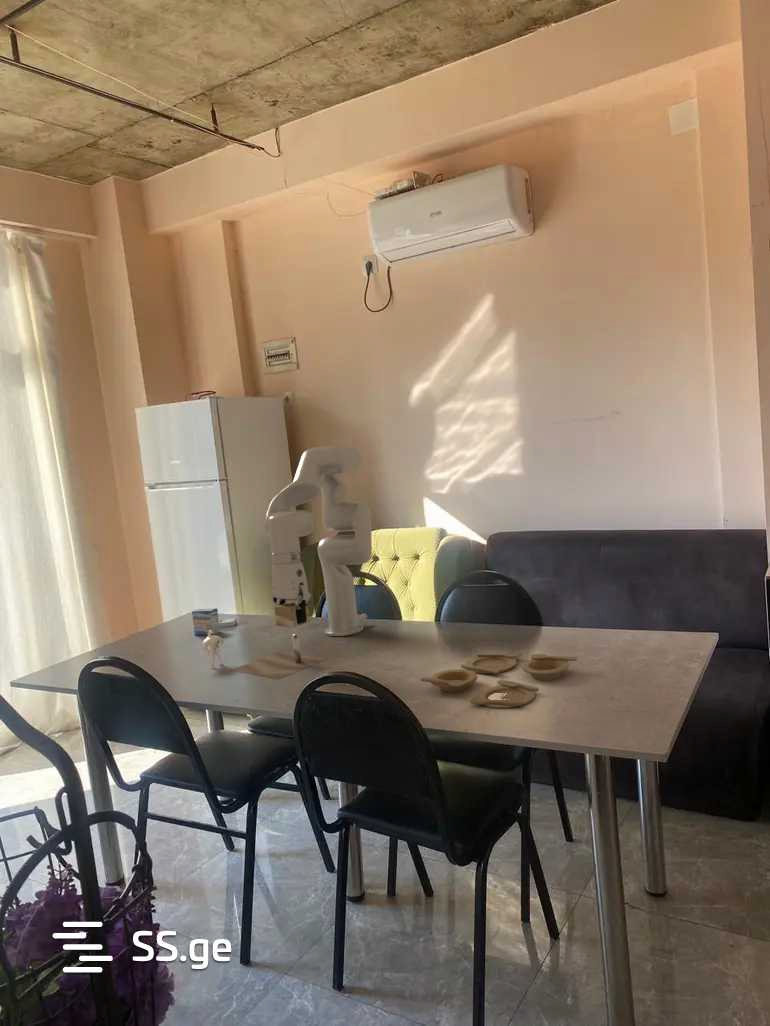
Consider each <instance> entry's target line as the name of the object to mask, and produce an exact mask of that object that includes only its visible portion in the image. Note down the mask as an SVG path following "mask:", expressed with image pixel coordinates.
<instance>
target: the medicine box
mask: <svg viewBox="0 0 770 1026" xmlns="http://www.w3.org/2000/svg"><path fill="white" fill-rule="evenodd" d="M191 616H192V625H193V633H194V635H195V636H208V632H209V630H212V631H213V633H214V635H215V636H216V635H218V633H220V632H221V627H220V626H221V625H220V620H219V619H220V618H219V611H218V608H197V609H194V610H192V611H191Z"/></svg>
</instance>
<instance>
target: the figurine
mask: <svg viewBox="0 0 770 1026" xmlns="http://www.w3.org/2000/svg"><path fill="white" fill-rule="evenodd" d="M223 645H224V639H223V638H222V637H220V636H219V635H216V634H215V635H214V633H213V631H212V630H209V632H208V635H207V636H206V638H205V639H204V640H203V642H201V649H202V650H203V651H205V652H207V655H206V657H207V658H208V656H209V659H210V661H209V664H210V665H209V669H213V668H214V660H215V657H216V659H217V661H218V664H219V666H221V665H223V662H222V658H221V653H222V650H220V649H221V647H222V646H223Z"/></svg>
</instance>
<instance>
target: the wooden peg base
mask: <svg viewBox="0 0 770 1026" xmlns="http://www.w3.org/2000/svg"><path fill="white" fill-rule="evenodd" d="M291 639H292V645H293V653H286V652H280V651H277V652H275V653H273V654H272V653H271V654H270V655H266V656H265V657H262V658H259V659H256V660H254V661H251V662H248V663H246V664H243V665H240V666H239V667H236V668H232V669H230V671H233V672H237V673H240V674H241V673H242V674H246V675H247V674H248V675H253V676H257V677H263V678H268V679H272V680H273V679H274V680H281V679H284V678H285V677H288V676H291V675H292V674H295V673H299V672H300V671H302V670H305V669H307V668H310V667H312V666H314V665H317V664H319V663H321V662H324V661H326V659H325V658H324V659H323V658H318V657H311V656H305V655H302V654H301V653H302V651H301V646H300V645H301V644H300V636H299V633H293V634H291Z"/></svg>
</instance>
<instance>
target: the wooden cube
mask: <svg viewBox="0 0 770 1026" xmlns="http://www.w3.org/2000/svg"><path fill="white" fill-rule="evenodd" d="M299 603H301V601H299ZM273 608H274V617H275V618H274V619H275V625H276V626H277V627H283V628H291V629H293V628H297V627H298V626H302V625H304V624H308V623H310V622H311V621H310V612H309V603H308V604H307V607H306V608H305V609H306V618H307V621H306V622H304V623H301V624H297V617H296V610H297V607H296V605H295V602H294V600H290V601H288V602H286V603H284V604H281V605H278V606H276V605H275V606H274V607H273Z"/></svg>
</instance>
